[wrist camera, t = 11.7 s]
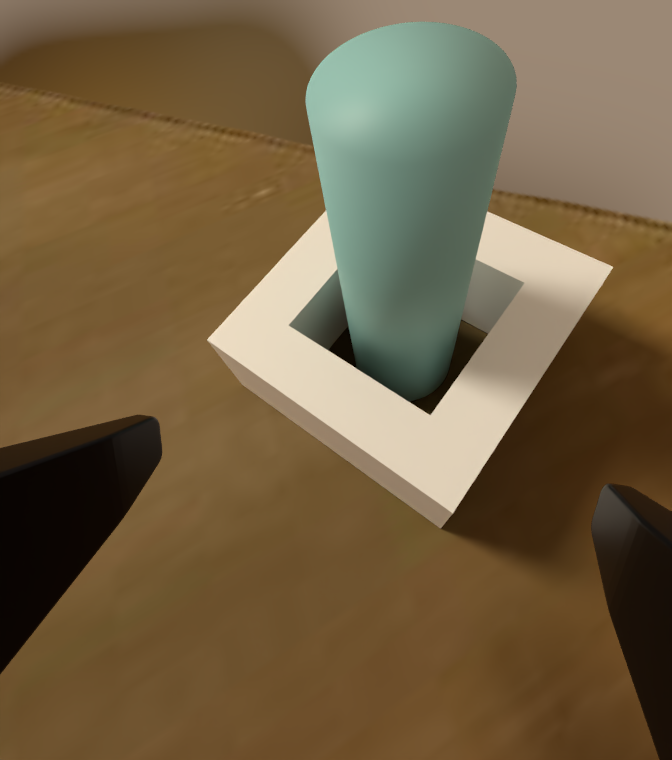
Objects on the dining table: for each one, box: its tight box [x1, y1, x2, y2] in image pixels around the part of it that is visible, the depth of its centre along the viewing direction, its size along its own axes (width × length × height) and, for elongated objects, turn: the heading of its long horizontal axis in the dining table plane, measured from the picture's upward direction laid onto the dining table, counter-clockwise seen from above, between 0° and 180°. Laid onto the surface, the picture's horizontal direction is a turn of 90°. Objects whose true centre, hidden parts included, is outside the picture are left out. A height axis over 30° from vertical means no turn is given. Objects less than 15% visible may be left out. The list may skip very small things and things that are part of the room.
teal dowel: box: [306, 22, 517, 401], centre depth 16 cm, size 4×4×13 cm
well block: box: [207, 211, 613, 529], centre depth 19 cm, size 11×11×4 cm
